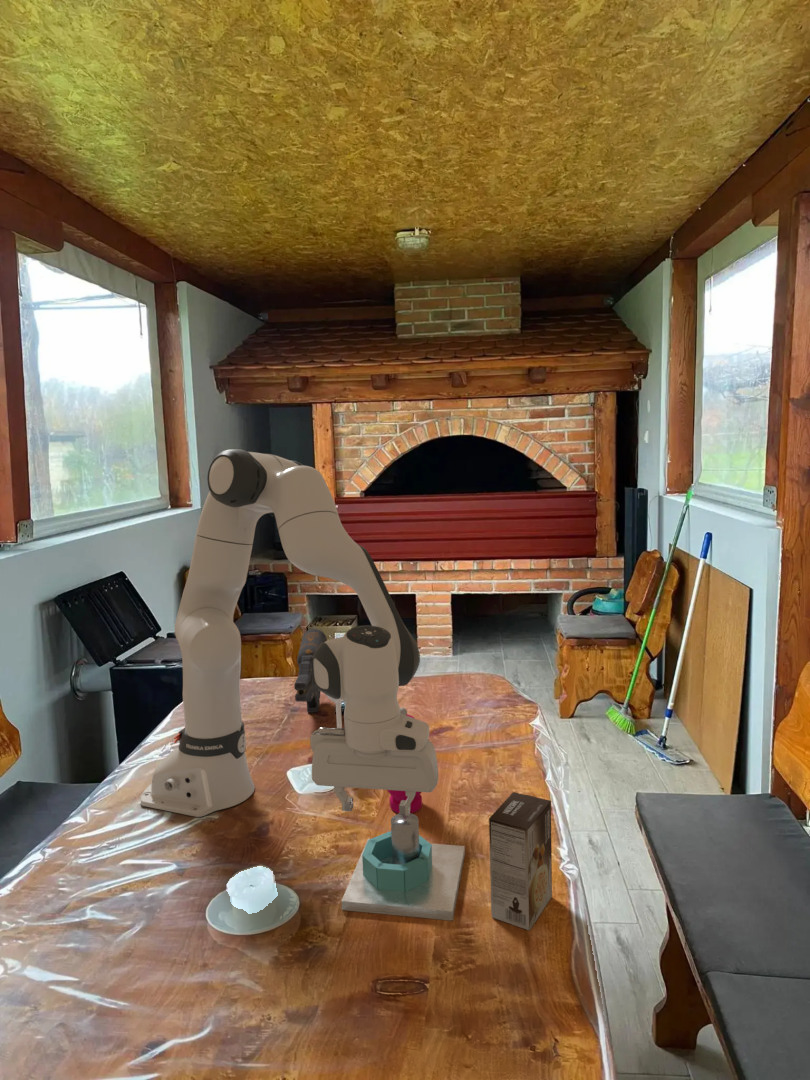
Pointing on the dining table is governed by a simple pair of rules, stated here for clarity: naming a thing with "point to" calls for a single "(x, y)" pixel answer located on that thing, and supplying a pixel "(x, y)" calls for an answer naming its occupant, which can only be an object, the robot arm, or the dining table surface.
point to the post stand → (421, 900)
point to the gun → (308, 670)
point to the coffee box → (520, 859)
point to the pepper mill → (401, 795)
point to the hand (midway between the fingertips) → (376, 811)
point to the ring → (395, 865)
